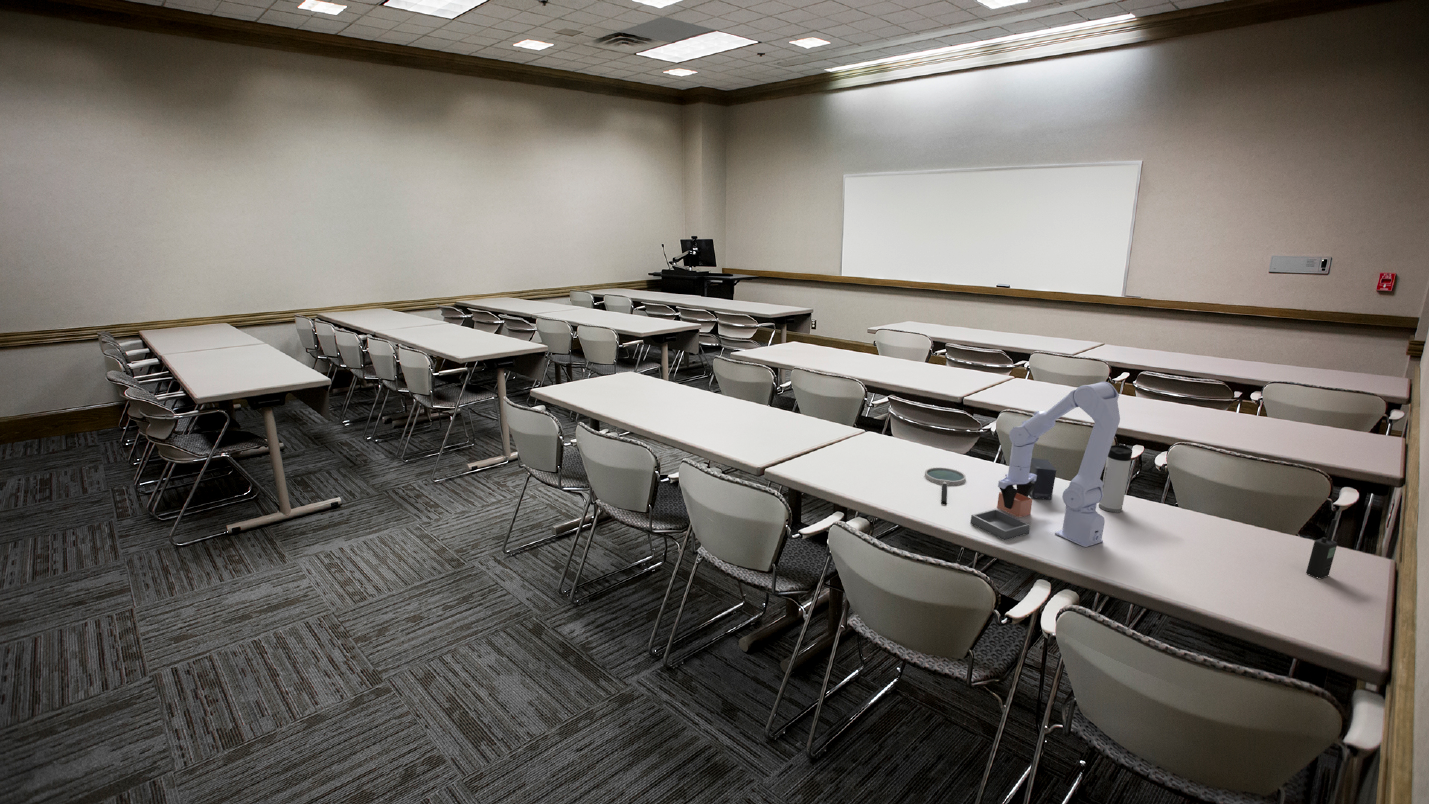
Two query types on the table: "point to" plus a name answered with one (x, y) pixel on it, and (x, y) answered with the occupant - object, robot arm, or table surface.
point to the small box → (1042, 478)
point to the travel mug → (1115, 478)
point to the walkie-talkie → (1322, 555)
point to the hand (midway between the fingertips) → (1014, 506)
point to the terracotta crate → (1016, 505)
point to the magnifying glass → (945, 479)
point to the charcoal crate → (1000, 524)
